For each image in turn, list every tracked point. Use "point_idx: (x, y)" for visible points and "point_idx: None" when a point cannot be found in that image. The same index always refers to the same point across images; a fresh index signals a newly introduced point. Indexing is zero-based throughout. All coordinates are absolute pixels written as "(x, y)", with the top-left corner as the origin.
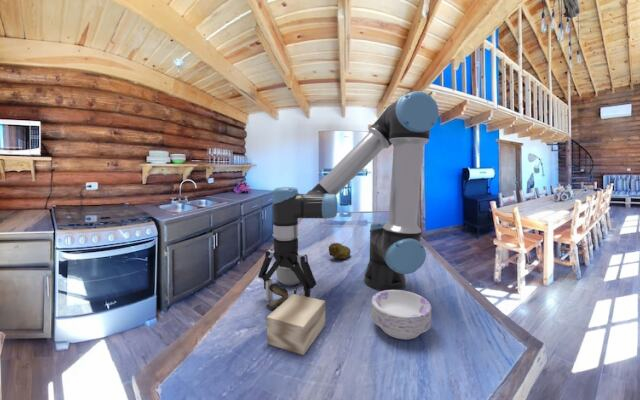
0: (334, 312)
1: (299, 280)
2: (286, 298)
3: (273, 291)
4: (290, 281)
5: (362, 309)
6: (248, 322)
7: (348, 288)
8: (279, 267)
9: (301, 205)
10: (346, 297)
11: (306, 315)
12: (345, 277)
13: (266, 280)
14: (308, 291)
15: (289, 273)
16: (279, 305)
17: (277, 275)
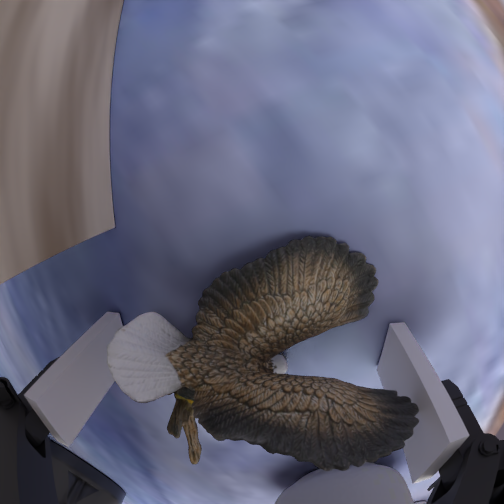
0: (30, 329)
1: (15, 464)
2: (190, 347)
3: (367, 393)
4: (318, 485)
5: (10, 360)
6: (358, 38)
7: (112, 461)
8: None
9: None
10: None
11: None
12: (167, 499)
13: (462, 448)
14: (27, 390)
15: None
16: (236, 271)
17: (400, 487)
